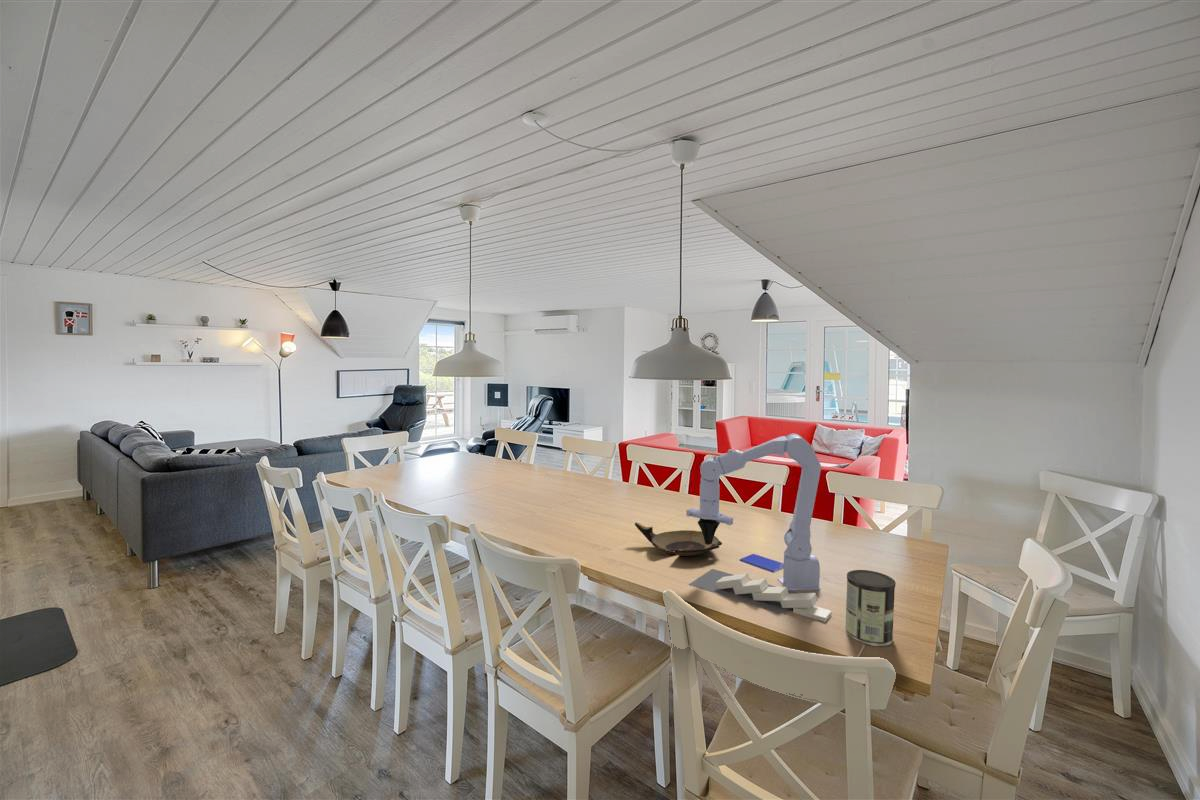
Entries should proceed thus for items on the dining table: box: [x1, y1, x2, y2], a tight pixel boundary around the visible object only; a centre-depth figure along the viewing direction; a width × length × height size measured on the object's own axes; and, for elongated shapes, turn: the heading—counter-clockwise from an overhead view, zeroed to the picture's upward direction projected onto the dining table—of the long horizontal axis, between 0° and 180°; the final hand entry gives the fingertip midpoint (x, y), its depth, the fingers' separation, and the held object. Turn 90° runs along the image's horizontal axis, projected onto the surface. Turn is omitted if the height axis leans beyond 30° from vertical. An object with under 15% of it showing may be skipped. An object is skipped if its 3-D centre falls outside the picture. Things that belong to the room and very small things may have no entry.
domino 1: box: [716, 573, 750, 589], centre depth 147 cm, size 2×5×8 cm
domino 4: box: [781, 592, 818, 609], centre depth 135 cm, size 2×5×8 cm
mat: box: [688, 568, 798, 615], centre depth 147 cm, size 28×15×1 cm, turn 51°
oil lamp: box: [634, 522, 723, 557], centre depth 179 cm, size 22×30×8 cm
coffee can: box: [845, 569, 896, 647], centre depth 123 cm, size 10×10×14 cm
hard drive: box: [739, 553, 784, 574], centre depth 166 cm, size 2×8×12 cm
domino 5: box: [792, 605, 832, 623], centre depth 133 cm, size 2×5×8 cm
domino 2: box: [733, 578, 769, 595], centre depth 143 cm, size 2×5×8 cm
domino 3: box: [752, 586, 789, 601], centre depth 140 cm, size 2×5×8 cm
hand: (708, 543), depth 155 cm, fingers closed
